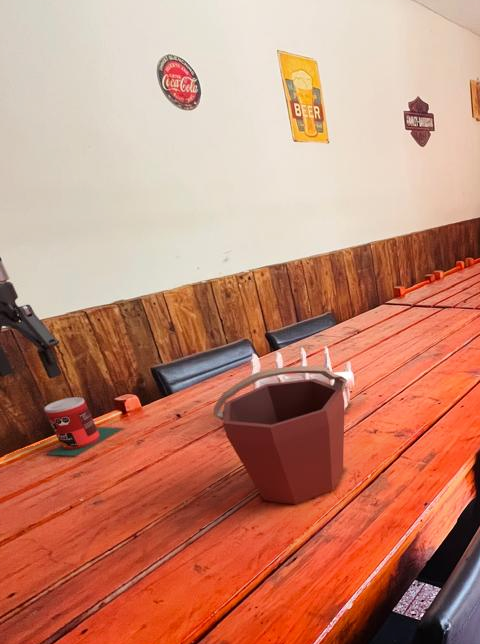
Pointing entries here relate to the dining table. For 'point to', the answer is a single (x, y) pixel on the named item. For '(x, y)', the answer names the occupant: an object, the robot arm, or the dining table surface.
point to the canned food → (72, 423)
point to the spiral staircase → (304, 376)
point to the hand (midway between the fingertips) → (31, 375)
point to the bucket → (288, 433)
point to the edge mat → (102, 435)
